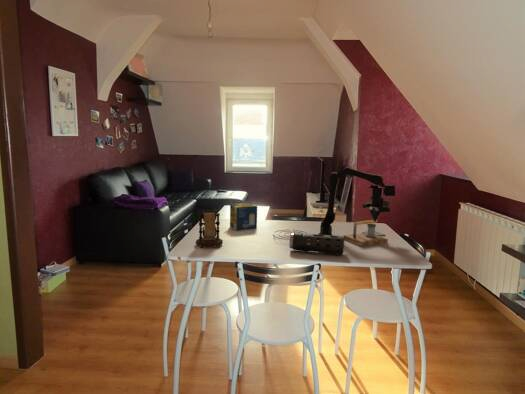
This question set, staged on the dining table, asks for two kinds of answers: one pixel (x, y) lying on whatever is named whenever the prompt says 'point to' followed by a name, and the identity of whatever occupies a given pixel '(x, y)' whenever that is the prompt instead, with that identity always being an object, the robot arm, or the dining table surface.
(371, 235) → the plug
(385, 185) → the robot arm
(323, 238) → the muzzle brake
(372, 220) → the bar
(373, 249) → the dining table surface
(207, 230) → the wooden hourglass
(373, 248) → the dining table surface
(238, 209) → the protein box
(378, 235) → the rubber mat
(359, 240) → the socket base
